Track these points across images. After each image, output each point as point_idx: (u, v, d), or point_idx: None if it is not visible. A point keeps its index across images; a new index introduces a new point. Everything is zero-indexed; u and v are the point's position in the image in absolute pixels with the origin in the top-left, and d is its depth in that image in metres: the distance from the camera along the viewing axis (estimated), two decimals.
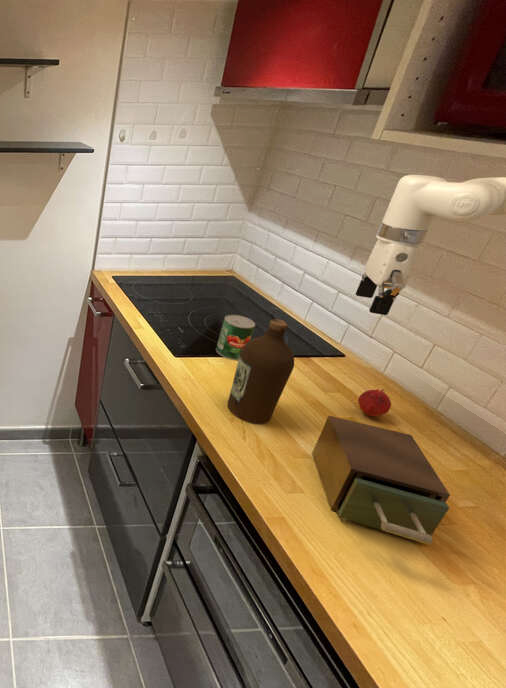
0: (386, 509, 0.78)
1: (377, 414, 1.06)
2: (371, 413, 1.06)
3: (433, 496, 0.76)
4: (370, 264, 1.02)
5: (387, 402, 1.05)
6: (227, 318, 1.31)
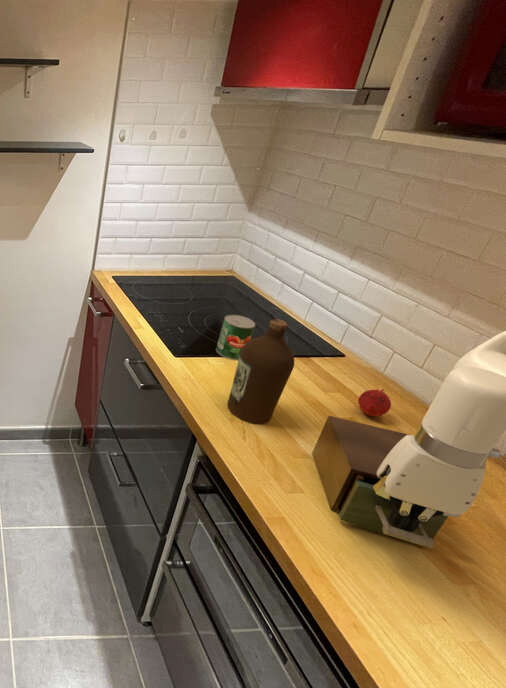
0: (387, 512, 0.77)
1: (377, 414, 1.06)
2: (371, 413, 1.06)
3: None
4: (417, 491, 0.69)
5: (387, 402, 1.05)
6: (227, 318, 1.31)
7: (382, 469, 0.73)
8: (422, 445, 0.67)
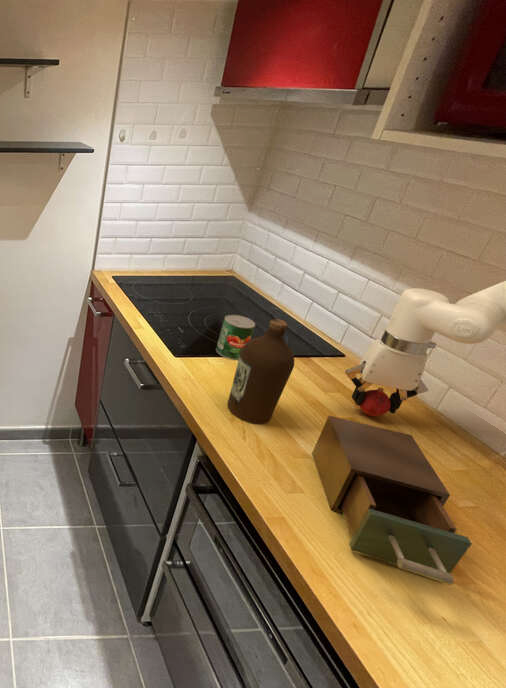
0: (402, 542, 0.72)
1: (377, 414, 1.06)
2: (371, 413, 1.06)
3: (453, 529, 0.70)
4: (383, 375, 1.02)
5: (387, 402, 1.05)
6: (227, 318, 1.31)
7: (360, 365, 1.06)
8: (386, 342, 1.01)
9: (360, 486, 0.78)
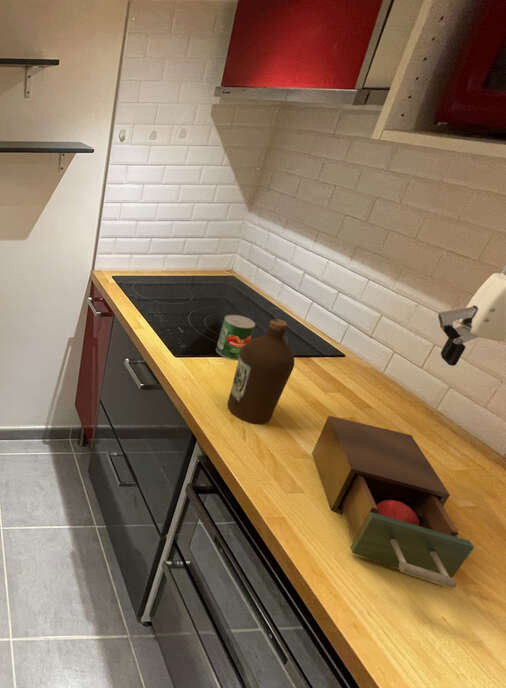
0: (404, 546, 0.71)
1: (405, 516, 0.74)
2: (396, 512, 0.75)
3: (455, 533, 0.70)
4: None
5: None
6: (227, 318, 1.31)
7: None
8: None
9: (361, 489, 0.77)
